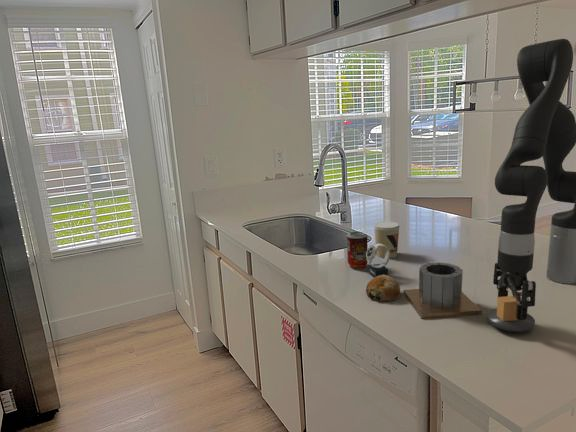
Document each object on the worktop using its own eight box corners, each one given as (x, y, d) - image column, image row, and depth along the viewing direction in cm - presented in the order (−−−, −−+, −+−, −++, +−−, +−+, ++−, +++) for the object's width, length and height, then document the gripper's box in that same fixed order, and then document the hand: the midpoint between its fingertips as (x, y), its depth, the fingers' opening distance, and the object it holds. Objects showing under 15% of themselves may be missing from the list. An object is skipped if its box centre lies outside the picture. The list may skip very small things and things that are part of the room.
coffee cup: (391, 260, 156) (391, 229, 153) (369, 256, 162) (369, 225, 159) (403, 253, 162) (403, 223, 159) (382, 249, 168) (381, 220, 166)
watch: (363, 274, 144) (363, 243, 142) (386, 271, 146) (385, 240, 143) (370, 280, 139) (369, 248, 136) (393, 277, 141) (393, 245, 138)
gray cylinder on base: (455, 289, 128) (457, 258, 126) (481, 314, 113) (483, 278, 110) (403, 293, 128) (403, 261, 126) (421, 318, 112) (421, 282, 110)
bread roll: (401, 311, 125) (411, 286, 124) (372, 303, 121) (383, 277, 121) (384, 298, 134) (394, 275, 133) (357, 290, 131) (367, 266, 130)
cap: (519, 315, 111) (521, 288, 109) (543, 335, 101) (546, 306, 99) (479, 318, 111) (481, 291, 109) (500, 338, 101) (502, 309, 99)
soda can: (352, 271, 148) (352, 237, 145) (344, 264, 154) (343, 232, 152) (371, 268, 150) (370, 234, 147) (362, 261, 156) (361, 229, 153)
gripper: (550, 257, 94) (544, 324, 98) (514, 239, 108) (510, 298, 112) (516, 260, 94) (511, 326, 98) (485, 241, 108) (482, 299, 112)
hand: (511, 311), depth 105 cm, fingers open, 8 cm apart
